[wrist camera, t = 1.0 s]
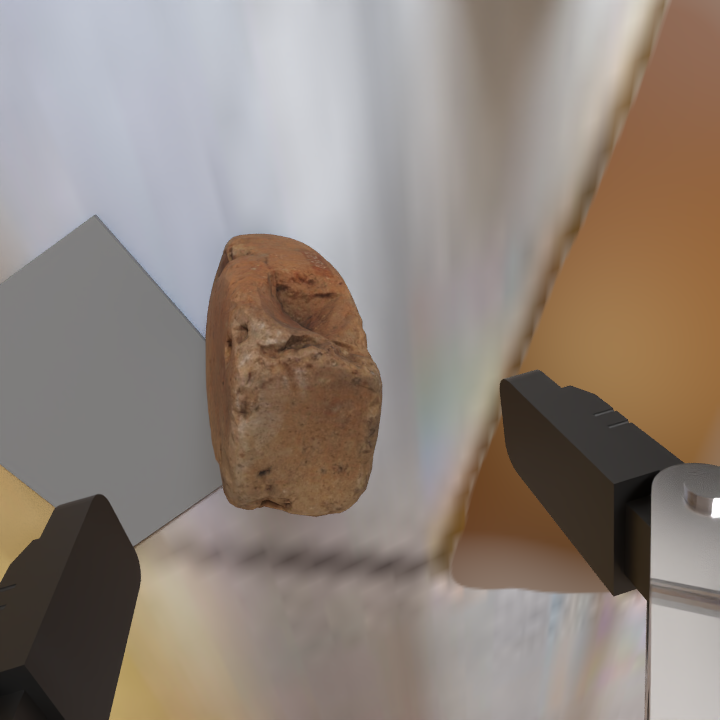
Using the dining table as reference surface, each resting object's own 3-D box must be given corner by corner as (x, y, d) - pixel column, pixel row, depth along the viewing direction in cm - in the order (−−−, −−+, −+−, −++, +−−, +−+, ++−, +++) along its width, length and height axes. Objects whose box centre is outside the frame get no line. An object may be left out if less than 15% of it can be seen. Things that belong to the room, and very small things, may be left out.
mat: (95, 214, 36) (93, 215, 35) (289, 434, 45) (290, 437, 45) (-115, 368, 36) (-119, 371, 36) (119, 552, 46) (118, 556, 45)
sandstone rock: (297, 370, 43) (371, 532, 25) (200, 364, 40) (205, 539, 23) (316, 235, 39) (419, 311, 22) (211, 219, 37) (229, 291, 19)
